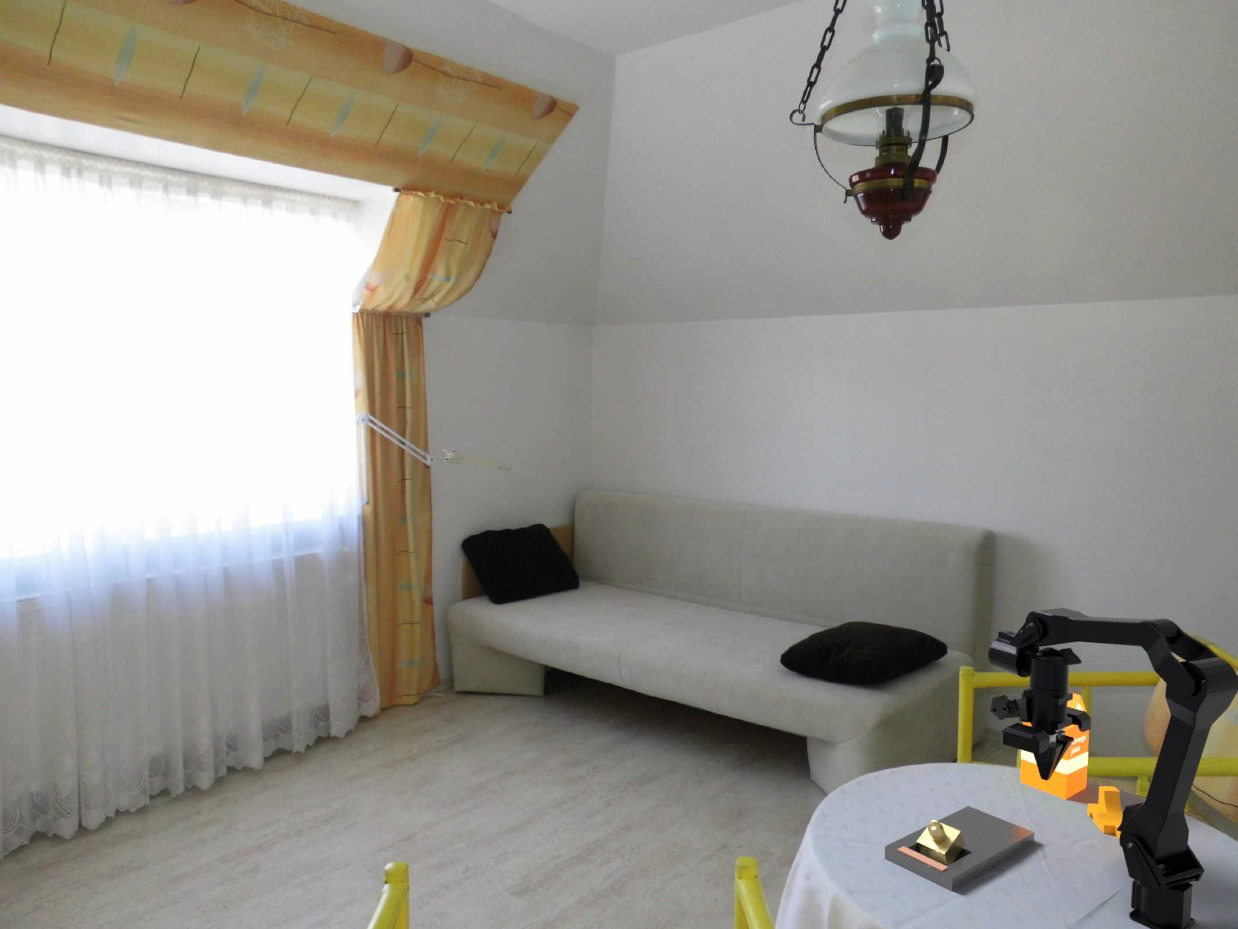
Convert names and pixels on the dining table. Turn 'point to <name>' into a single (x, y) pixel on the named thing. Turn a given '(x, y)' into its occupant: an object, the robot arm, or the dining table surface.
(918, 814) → the dining table surface
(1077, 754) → the orange juice
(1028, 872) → the dining table surface
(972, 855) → the dark grey slab
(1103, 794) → the pipe clamp
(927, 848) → the gold block with knob
